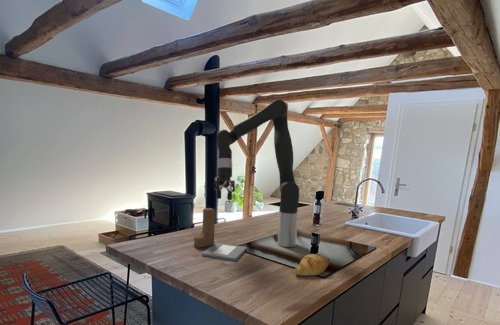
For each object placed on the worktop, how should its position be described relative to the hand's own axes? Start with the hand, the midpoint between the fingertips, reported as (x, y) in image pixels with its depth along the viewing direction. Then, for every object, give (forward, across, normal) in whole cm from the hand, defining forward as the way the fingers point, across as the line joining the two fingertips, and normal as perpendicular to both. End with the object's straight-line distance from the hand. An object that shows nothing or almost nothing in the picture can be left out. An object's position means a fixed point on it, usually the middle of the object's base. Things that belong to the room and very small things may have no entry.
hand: (224, 199), depth 145 cm
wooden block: (+23, -4, +9) cm, 25 cm away
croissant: (+32, +4, -43) cm, 54 cm away
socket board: (+25, -4, -4) cm, 26 cm away
